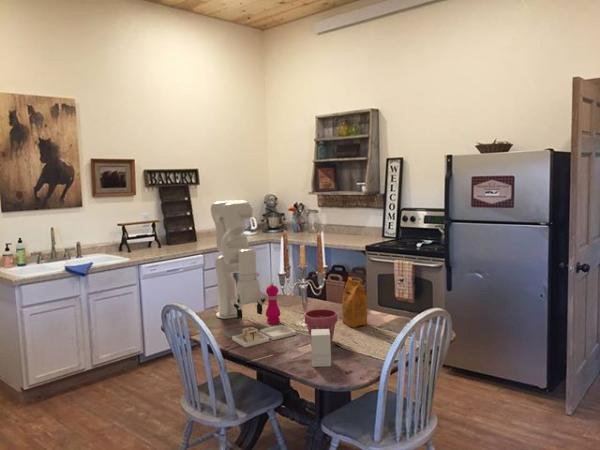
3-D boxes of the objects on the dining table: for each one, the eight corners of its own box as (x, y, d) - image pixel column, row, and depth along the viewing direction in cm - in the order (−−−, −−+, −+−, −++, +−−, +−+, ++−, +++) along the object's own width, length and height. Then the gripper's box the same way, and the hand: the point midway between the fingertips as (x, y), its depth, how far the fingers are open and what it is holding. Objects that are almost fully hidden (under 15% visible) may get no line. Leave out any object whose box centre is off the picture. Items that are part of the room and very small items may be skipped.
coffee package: (357, 318, 254) (356, 275, 252) (370, 325, 243) (369, 280, 240) (339, 321, 251) (338, 277, 248) (351, 329, 239) (350, 282, 237)
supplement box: (330, 359, 203) (330, 328, 202) (331, 366, 196) (330, 334, 194) (312, 359, 204) (311, 328, 202) (311, 367, 196) (310, 335, 195)
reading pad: (219, 333, 239) (219, 332, 239) (242, 327, 246) (242, 326, 246) (229, 339, 231) (229, 337, 231) (252, 333, 237) (252, 332, 237)
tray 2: (259, 334, 236) (259, 329, 236) (281, 328, 243) (281, 324, 242) (273, 341, 226) (273, 336, 226) (296, 335, 233) (295, 331, 233)
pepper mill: (278, 324, 249) (277, 284, 246) (264, 324, 250) (262, 284, 248) (282, 320, 256) (280, 280, 253) (268, 319, 257) (266, 280, 255)
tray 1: (232, 340, 228) (232, 336, 228) (255, 335, 235) (255, 330, 235) (245, 348, 218) (244, 343, 218) (269, 342, 225) (269, 337, 225)
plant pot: (314, 334, 233) (313, 307, 232) (343, 338, 227) (342, 310, 225) (299, 344, 221) (298, 315, 219) (329, 349, 214) (328, 319, 212)
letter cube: (242, 340, 227) (242, 328, 227) (252, 337, 230) (252, 326, 229) (248, 343, 223) (248, 331, 222) (258, 340, 226) (258, 329, 225)
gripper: (261, 273, 231) (262, 310, 233) (226, 279, 221) (228, 317, 223) (269, 275, 225) (271, 314, 226) (234, 281, 215) (236, 321, 217)
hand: (249, 315), depth 225 cm, fingers open, 9 cm apart
